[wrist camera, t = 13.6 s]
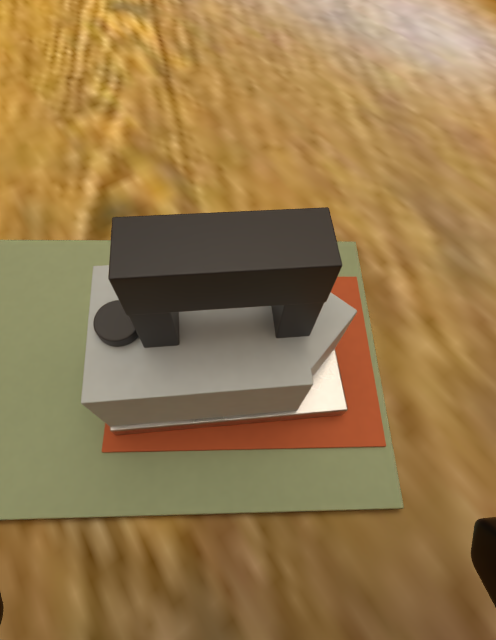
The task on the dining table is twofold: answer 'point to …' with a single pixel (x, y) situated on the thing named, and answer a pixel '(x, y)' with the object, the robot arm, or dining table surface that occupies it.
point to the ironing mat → (175, 445)
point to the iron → (216, 321)
